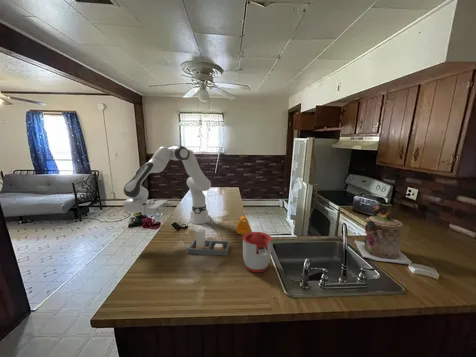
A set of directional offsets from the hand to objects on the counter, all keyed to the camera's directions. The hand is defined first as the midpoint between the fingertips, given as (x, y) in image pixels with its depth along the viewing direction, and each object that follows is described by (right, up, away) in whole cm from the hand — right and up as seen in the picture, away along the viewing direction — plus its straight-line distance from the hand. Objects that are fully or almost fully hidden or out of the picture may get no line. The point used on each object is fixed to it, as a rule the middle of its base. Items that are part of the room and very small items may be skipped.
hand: (169, 206), depth 139 cm
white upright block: (+21, -26, -3) cm, 34 cm away
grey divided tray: (+27, -27, -3) cm, 38 cm away
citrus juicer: (+55, -30, -23) cm, 67 cm away
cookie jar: (+133, -28, -6) cm, 137 cm away
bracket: (+50, -23, +23) cm, 59 cm away
